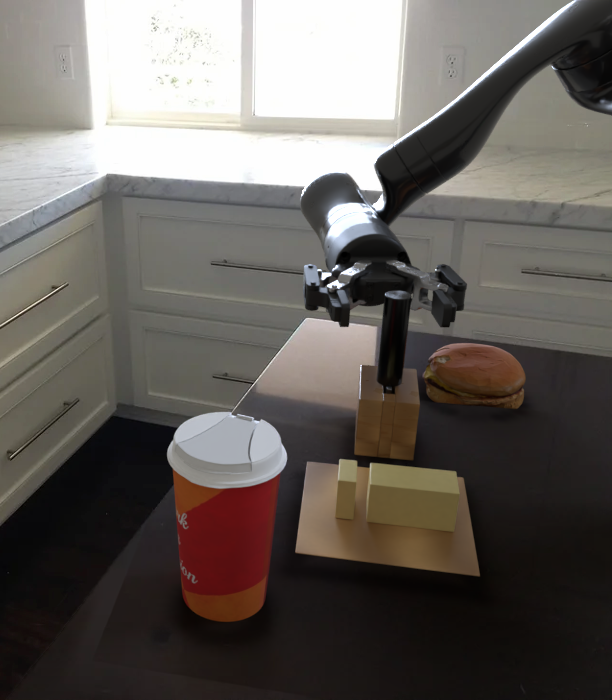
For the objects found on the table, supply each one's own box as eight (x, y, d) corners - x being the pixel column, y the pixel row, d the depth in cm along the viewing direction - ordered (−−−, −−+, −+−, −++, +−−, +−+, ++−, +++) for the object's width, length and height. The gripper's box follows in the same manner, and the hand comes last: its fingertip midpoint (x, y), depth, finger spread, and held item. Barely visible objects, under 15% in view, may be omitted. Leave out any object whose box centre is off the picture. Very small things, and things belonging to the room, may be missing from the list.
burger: (542, 406, 87) (550, 364, 85) (467, 425, 84) (473, 382, 82) (474, 368, 95) (479, 328, 93) (403, 384, 92) (408, 344, 90)
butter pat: (354, 497, 70) (357, 460, 69) (353, 520, 68) (356, 482, 66) (336, 495, 71) (339, 458, 69) (334, 518, 68) (338, 480, 66)
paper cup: (197, 562, 66) (198, 398, 60) (294, 592, 62) (304, 422, 57) (148, 627, 59) (144, 451, 54) (253, 665, 56) (260, 482, 50)
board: (461, 492, 73) (463, 477, 73) (477, 592, 62) (480, 576, 61) (306, 475, 76) (307, 461, 76) (294, 568, 65) (295, 552, 64)
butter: (450, 508, 69) (456, 471, 67) (454, 532, 66) (460, 493, 64) (366, 499, 70) (370, 462, 69) (366, 522, 67) (370, 484, 66)
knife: (393, 444, 81) (411, 289, 74) (394, 461, 78) (412, 301, 72) (369, 442, 81) (384, 287, 75) (369, 458, 79) (384, 300, 72)
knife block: (408, 435, 82) (416, 368, 79) (411, 474, 76) (420, 404, 73) (354, 430, 83) (360, 364, 80) (353, 468, 77) (359, 398, 74)
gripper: (295, 222, 88) (314, 275, 73) (439, 221, 87) (487, 275, 72) (292, 291, 91) (309, 356, 76) (430, 291, 90) (475, 357, 75)
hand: (396, 317), depth 74 cm, fingers open, 8 cm apart
